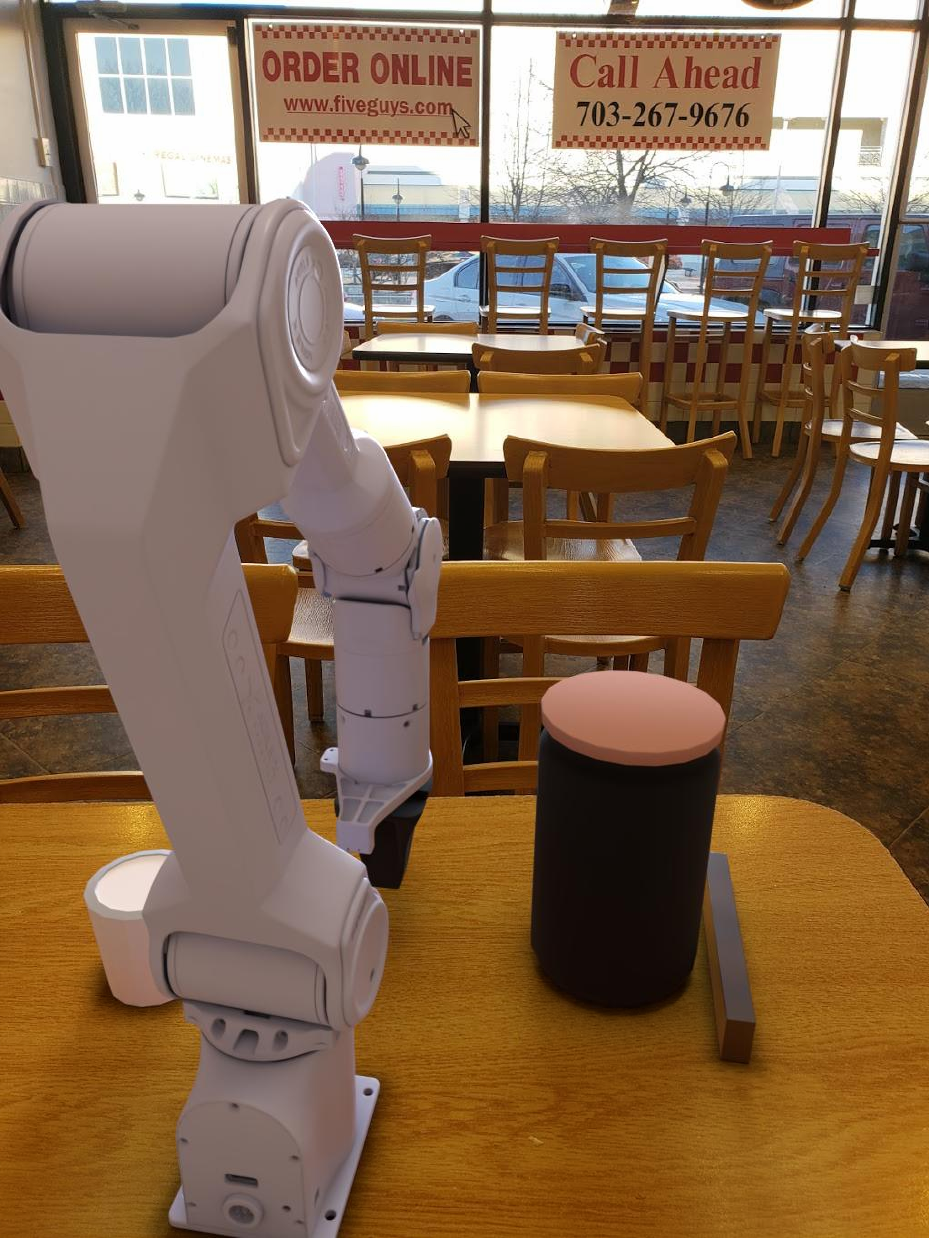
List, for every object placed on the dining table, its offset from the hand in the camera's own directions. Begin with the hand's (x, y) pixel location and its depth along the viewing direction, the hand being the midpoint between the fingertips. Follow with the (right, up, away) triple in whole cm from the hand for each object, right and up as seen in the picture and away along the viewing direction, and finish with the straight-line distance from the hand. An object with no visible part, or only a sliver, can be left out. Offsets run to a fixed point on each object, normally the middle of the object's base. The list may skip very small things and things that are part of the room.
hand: (386, 881), depth 62 cm
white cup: (-14, -5, -3) cm, 15 cm away
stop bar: (+22, -5, -2) cm, 22 cm away
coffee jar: (+15, -5, -1) cm, 15 cm away
